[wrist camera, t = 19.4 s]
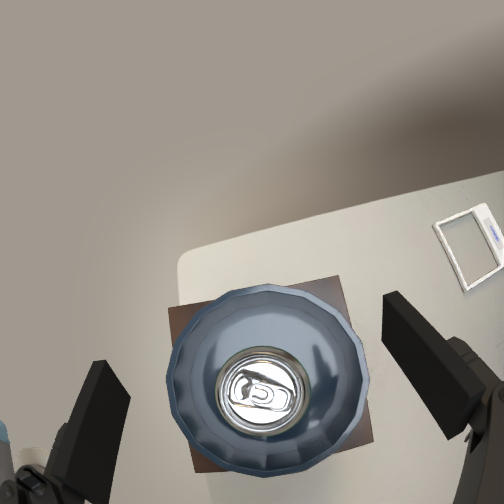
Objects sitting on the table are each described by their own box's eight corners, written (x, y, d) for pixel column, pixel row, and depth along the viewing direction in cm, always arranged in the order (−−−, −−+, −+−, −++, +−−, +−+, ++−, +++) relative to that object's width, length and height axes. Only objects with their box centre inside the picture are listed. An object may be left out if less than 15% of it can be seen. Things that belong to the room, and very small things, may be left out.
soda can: (249, 347, 25) (227, 331, 14) (304, 362, 25) (325, 358, 13) (233, 399, 24) (197, 423, 13) (288, 415, 23) (296, 452, 12)
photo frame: (514, 259, 44) (467, 290, 43) (511, 260, 45) (464, 292, 44) (485, 201, 50) (434, 223, 49) (483, 204, 51) (432, 225, 50)
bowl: (202, 465, 22) (186, 483, 17) (177, 315, 28) (156, 303, 23) (363, 436, 22) (381, 449, 17) (332, 285, 28) (342, 267, 23)
